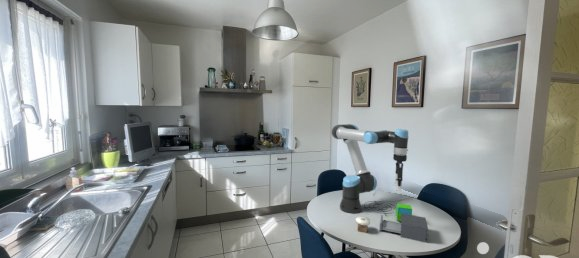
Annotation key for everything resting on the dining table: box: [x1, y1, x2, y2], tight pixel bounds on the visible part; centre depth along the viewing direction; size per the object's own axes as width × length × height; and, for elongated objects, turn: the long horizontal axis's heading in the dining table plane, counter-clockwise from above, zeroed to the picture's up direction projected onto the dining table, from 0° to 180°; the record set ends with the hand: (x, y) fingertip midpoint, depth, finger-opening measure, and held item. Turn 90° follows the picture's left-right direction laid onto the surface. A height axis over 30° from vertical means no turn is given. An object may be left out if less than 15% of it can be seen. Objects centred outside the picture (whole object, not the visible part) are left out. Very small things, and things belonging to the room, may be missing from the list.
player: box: [400, 213, 429, 244], centre depth 135 cm, size 13×14×8 cm
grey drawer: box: [379, 215, 401, 235], centre depth 140 cm, size 13×12×5 cm
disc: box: [355, 215, 371, 226], centre depth 138 cm, size 8×8×2 cm
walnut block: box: [357, 223, 369, 234], centre depth 139 cm, size 5×5×5 cm
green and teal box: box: [394, 203, 413, 222], centre depth 154 cm, size 10×13×10 cm
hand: (397, 187), depth 148 cm, fingers open, 13 cm apart
